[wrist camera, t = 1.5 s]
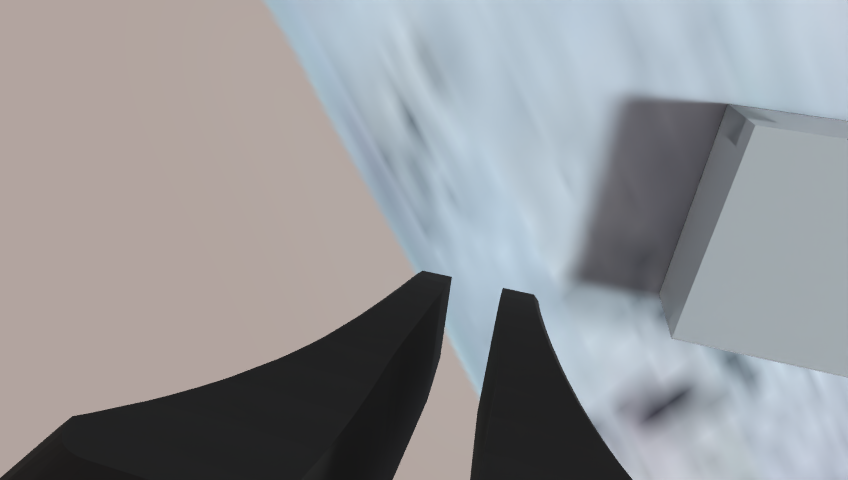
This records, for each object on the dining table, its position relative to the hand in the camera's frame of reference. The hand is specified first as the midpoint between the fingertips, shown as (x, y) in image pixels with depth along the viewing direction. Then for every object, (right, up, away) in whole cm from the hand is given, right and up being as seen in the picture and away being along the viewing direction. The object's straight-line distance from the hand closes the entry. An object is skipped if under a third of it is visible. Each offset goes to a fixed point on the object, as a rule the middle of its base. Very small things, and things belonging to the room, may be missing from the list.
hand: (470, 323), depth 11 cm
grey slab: (+13, +2, +6) cm, 14 cm away
